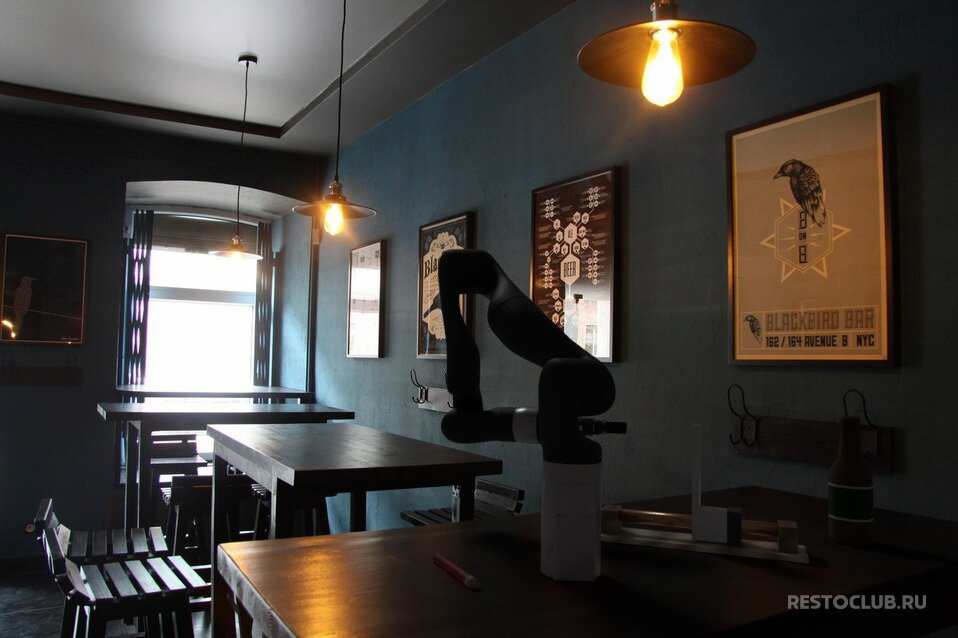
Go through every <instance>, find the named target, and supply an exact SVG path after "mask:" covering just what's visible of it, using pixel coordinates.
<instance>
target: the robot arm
mask: <svg viewBox="0 0 958 638" xmlns="http://www.w3.org/2000/svg"><path fill="white" fill-rule="evenodd" d="M437 282H438V292H439V298H440V308H441V316H442V324H443V329H444V336H445V349H446V350H445V351H446V352H445V353H446V362H445V363H446V365H445V366H446V367H445V372H446V374H445V378H446V381H445V382H446V383H445V384H446V390H447V392H448V393H449V395H452V404H453V405H452V409H451V410H450V411H448V412H446V414H444V416H443V418H442V419H441V422H440V429H441V433H442V435H443V436H444V438H446V439H447V440H448V441H449V442H452V443H455V444H461V445H463V444H464V445H469V444H481V443H489V442H500V443H501V442H502V443H521V444H526V445H541V449H542V483H541V484H542V485H541V522H540V525H541V526H540V527H541V528H540V531H541V532H540V572H541V574H543V575H544V576H546V577H549V578H551V579H553V581H559V582H560V581H563V582H564V581H565V582H567V581H569V582H596V579H597V578H599V577H600V576H601V562H602V561H601V559H602V558H601V557H602V556H601V553H602V550H601V549H602V547H601V546H602V544H601V542H602V541H601V509H602V488H603V487H602V481H603V478H602V476H603V475H602V474H603V473H602V472H603V447H602V445H601V443H600V442H598V441H596V440H594V439H591V438H589V437H593V436H600V435H603V436H604V435H608V434H615V435H616V434H617V435H626V434H627V433H628V422H626V421H608V420H606V419H597V418H596V417H597V416H600V415H602V414H605V413H606V412H608V411H609V410H610V409H612V406H613V405H614V403H615V401H616V395H617V391H616V384H615V380H614V378H613V375H612V372H611V371H610V370H609V368H608V367H607V366H606V365H605V363H603V362H602V361H601V360H600V359H599V358H597V357H596V356H594V355H593V354H591V353H590V352H588V350H586V349H585V348H583V347H582V346H581V345H579V344H578V343H577V342H575V341H574V340H573V339H572V338H570V336H568V335H567V334H566V332H564V331H563V330H562V329H561V328H560V327H559V326H558V325H557V324H556V323H555V322H554V321H553V320H552V319H551V318H549V317H548V316H547V314H546V313H545V312H544V311H543V310H542V309H541V307H539V306H538V305H537V304H536V303H535V302H534V301H533V300H532V299H531V298H530V297H529V296H527V295H526V294H525V293H524V292H523V291H522V290H521V289H520V288H519V286H518V285H516V283H514V282H513V281H512V280H511V278H510V277H509V276H508V275H507V273H506V271H504V268H502V266H501V265H500V264H499V263H498V261H497V259H495V258H494V256H493V255H492V254H491V253H490V252H489V251H486V250H484V249H481V248H479V249H478V248H450V249H445V250H444V251H443V252H442V253H441V255H440V256H439V260H438V266H437ZM462 295H480V296H482V297H485V298H486V299H487V300H488V301H489V303H488V308H487V315H486V317H487V323H488V327H489V328H490V330H491V331H492V333H493V334H494V335H495V337H496V338H497V339H498V340H499V341H500V342H501V344H502V345H503V346H504V347H506V348H507V350H508V351H510V352H512V353H513V354H514V355H516V356H518V357H520V358H522V359H524V360H525V361H527V362H530V363H532V364H534V365H537V366H539V367H540V368H542V369H541V371H540V374H539V378H538V387H537V404H538V405H537V406H534V405H532V406H528V405H527V406H520V407H519V406H518V407H516V406H499V407H493V408H491V409H487V410H485V409H484V403H483V397H482V392H481V354H480V350H479V347H478V345H477V341H476V340H475V338H474V337H473V335H472V332H471V331H470V329H469V327H468V326H467V324H466V321H465V318H464V317H463V314H462V310H461V303H460V301H461V300H460V297H461V296H462Z"/></svg>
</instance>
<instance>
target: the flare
mask: <svg viewBox="0 0 958 638" xmlns="http://www.w3.org/2000/svg"><path fill="white" fill-rule="evenodd" d="M432 562H433V563H434V564H435V565H437V566H439V567H440V568H441V569H443V570H444V572H447V573H448V574H450V576H452V577H454V578H455V579H456V580H458V581H459V582H460V583H462V584H463V585H464V586H466V587H467V588H468V589H470V590H477V589H480V588H481V582H480V580H479V579H478V578H476V577H474V576H473V575H471V574H470V573H468V572H467V571H466V570H464V569H462V568H461V567H460V566H458V565H457V564H455V563H453V562H452V561H451V560H449V559H448V558H447V557H445V556H443V554H440V552H439V553H438V552H437V553H435V554H433V556H432Z"/></svg>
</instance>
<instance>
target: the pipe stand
mask: <svg viewBox="0 0 958 638" xmlns="http://www.w3.org/2000/svg"><path fill="white" fill-rule="evenodd" d="M622 507H623V505H617V504H605V505H604V506H603V507H601V542H605V543H607V542H608V543H615V544H623V545H624V544H625V545H635V546H643V547H644V546H645V547H654V548H661V549H662V548H664V549H672V550H679V551H691V552H699V553H707V554H708V553H709V554H716V555H718V554H719V555H727V556H728V555H729V556H734V557H744V558H746V557H747V558H755V559H763V560H773V561H782V562H791V563H793V562H794V563H801V564H809V563H810V556H809V555H808V552H807V549H806V547H805V545H802V544H801V545H800V544H799V527H798V525H797V521H792V520H783V519H782V520H780V519H777V523H778V524H779V537H777V542H773V541H772V542H771V541H763V540H751V539H744V538H743V539H742V546H738V545H729V544H727V543H723V542H713V541H703V540H694V539H692V533H682V532H671V531H662V530H655V529H654V530H653V529H642V528H633V527H624V526H622V523H623V522H620V521H619V520H618V512H619V508H620V509H623V508H622Z"/></svg>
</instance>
